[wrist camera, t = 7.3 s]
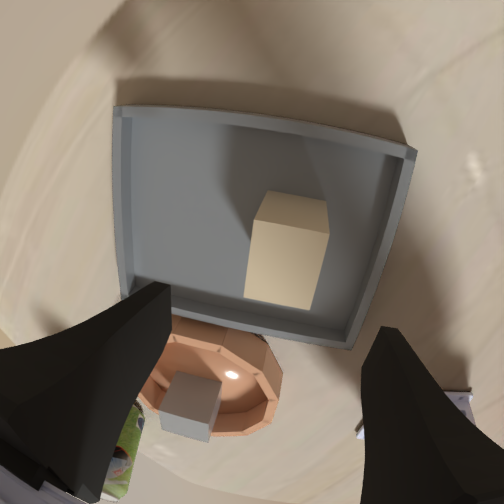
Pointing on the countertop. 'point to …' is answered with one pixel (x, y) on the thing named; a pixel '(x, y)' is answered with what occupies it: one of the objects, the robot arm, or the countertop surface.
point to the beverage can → (123, 457)
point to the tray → (251, 212)
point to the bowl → (220, 373)
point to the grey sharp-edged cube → (190, 406)
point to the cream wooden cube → (287, 250)
